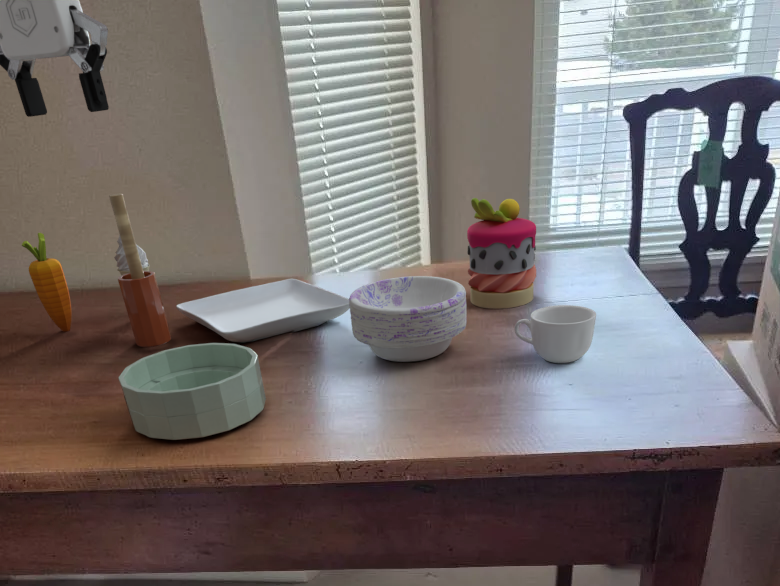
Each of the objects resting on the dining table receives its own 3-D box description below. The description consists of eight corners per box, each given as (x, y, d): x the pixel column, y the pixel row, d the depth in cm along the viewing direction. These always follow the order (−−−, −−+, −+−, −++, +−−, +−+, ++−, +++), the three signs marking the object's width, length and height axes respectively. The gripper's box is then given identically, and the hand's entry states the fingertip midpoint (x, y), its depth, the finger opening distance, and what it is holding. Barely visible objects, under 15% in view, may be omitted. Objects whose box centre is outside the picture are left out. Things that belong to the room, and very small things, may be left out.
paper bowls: (441, 376, 90) (438, 311, 85) (334, 365, 96) (326, 304, 91) (483, 335, 101) (482, 276, 97) (385, 328, 107) (380, 272, 102)
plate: (295, 295, 126) (292, 274, 124) (359, 321, 111) (356, 298, 109) (177, 324, 117) (172, 303, 115) (229, 357, 102) (224, 333, 100)
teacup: (599, 348, 93) (602, 306, 90) (585, 370, 88) (588, 326, 85) (523, 343, 97) (523, 302, 94) (505, 364, 92) (505, 321, 89)
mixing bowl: (107, 438, 82) (90, 388, 79) (182, 386, 94) (170, 340, 90) (223, 449, 77) (211, 396, 74) (288, 393, 89) (279, 345, 86)
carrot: (57, 340, 115) (22, 239, 106) (46, 334, 118) (11, 236, 109) (88, 331, 117) (56, 232, 109) (76, 326, 120) (44, 229, 112)
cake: (501, 286, 121) (501, 186, 112) (549, 296, 114) (553, 191, 105) (454, 301, 116) (450, 198, 107) (502, 313, 109) (501, 204, 100)
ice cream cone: (156, 310, 125) (131, 216, 116) (167, 316, 121) (142, 219, 113) (127, 317, 122) (99, 222, 114) (137, 324, 119) (110, 225, 110)
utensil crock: (130, 349, 108) (110, 280, 103) (150, 337, 112) (132, 270, 106) (159, 350, 107) (140, 280, 101) (178, 339, 110) (161, 270, 105)
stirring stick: (155, 343, 108) (115, 196, 97) (145, 342, 109) (104, 196, 97) (165, 337, 110) (126, 192, 99) (155, 337, 110) (115, 193, 99)
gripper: (-68, -55, 82) (-8, 120, 91) (54, -77, 76) (104, 112, 86) (-16, -50, 88) (35, 114, 97) (101, -70, 82) (143, 106, 92)
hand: (67, 113), depth 92 cm, fingers open, 9 cm apart
